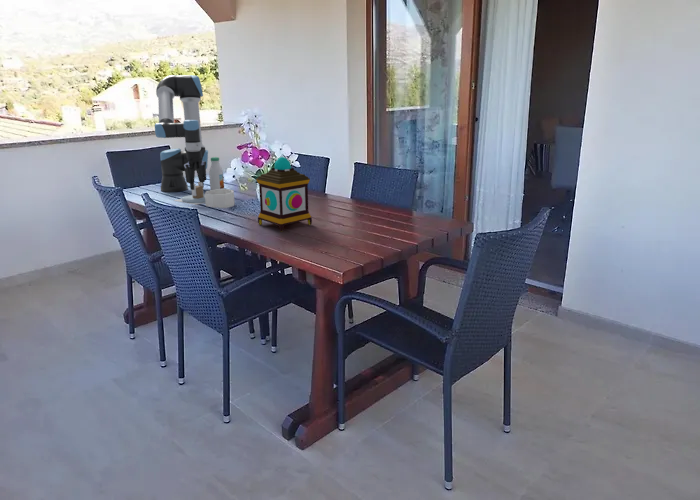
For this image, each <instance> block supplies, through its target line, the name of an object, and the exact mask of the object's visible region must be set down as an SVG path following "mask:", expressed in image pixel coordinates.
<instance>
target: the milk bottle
mask: <svg viewBox="0 0 700 500" xmlns="http://www.w3.org/2000/svg"><path fill="white" fill-rule="evenodd" d="M210 161H211V162H210V163H211V165H210V168H209V170H208V171H209V172H208V174H209V175H208V177H209V187H210V190H214V189H225V180H224V171H223V169H222V166H221V165H220V157H217V156H215V157H214V156H213V157H210Z"/></svg>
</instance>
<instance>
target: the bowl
mask: <svg viewBox="0 0 700 500" xmlns="http://www.w3.org/2000/svg"><path fill="white" fill-rule="evenodd" d="M234 192H235V190H234V189H229V188H224V189H214V190H206V191H205V193H204V194H205V202H206V203H205V207H210V208H213V209H218V208H220V209H229V208H232V207H234V206H235V193H234Z"/></svg>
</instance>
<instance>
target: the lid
mask: <svg viewBox="0 0 700 500" xmlns="http://www.w3.org/2000/svg"><path fill="white" fill-rule="evenodd" d="M203 193H204V188H203V186H198V185H196V194H197V196H192V194H189V195H185V196H183V197H181V199H182V201H183V202H182V203H184V202H186V203H185V204H189V203H202V204H204V203H203V202H205V193H204V194H203Z"/></svg>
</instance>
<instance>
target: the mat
mask: <svg viewBox="0 0 700 500" xmlns="http://www.w3.org/2000/svg"><path fill="white" fill-rule="evenodd" d="M173 201H174V202H178V203H184V204H187V203H186V202H183V201H182V198H179V199H174V200H173ZM189 204H190V205H195V206H197V205H202V204H206V202H203V203H188V205H189Z"/></svg>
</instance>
